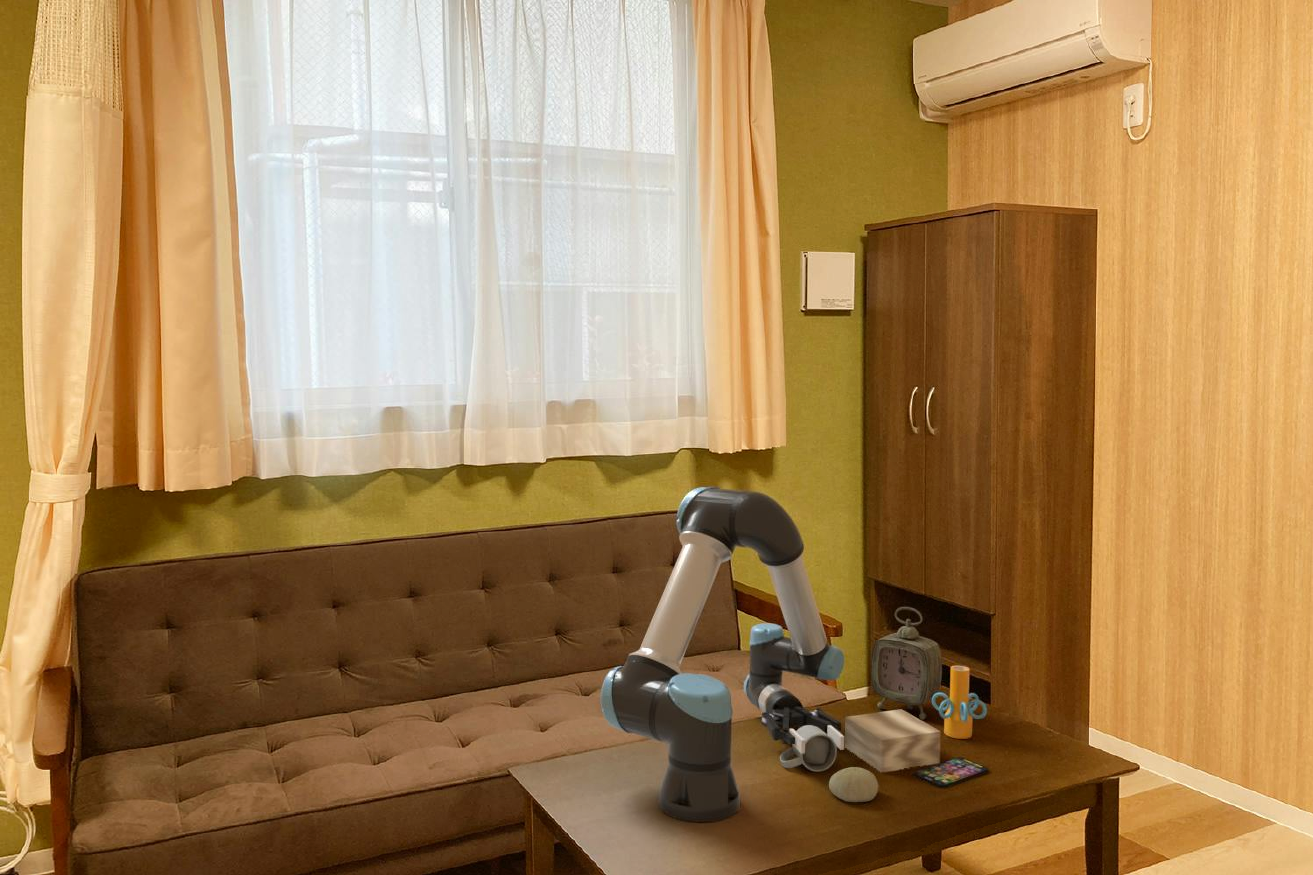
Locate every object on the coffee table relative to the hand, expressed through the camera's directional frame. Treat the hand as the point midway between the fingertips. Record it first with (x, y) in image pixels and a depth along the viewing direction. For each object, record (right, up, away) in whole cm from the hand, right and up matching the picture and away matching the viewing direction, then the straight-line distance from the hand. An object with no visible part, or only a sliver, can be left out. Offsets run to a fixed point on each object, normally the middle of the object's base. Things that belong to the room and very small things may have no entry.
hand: (822, 744), depth 205 cm
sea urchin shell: (+5, -7, -9) cm, 12 cm away
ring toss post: (+34, -5, +22) cm, 41 cm away
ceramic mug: (-3, -6, +5) cm, 8 cm away
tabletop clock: (+26, -3, +37) cm, 45 cm away
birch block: (+16, -6, +11) cm, 20 cm away
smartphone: (+26, -7, +1) cm, 27 cm away
